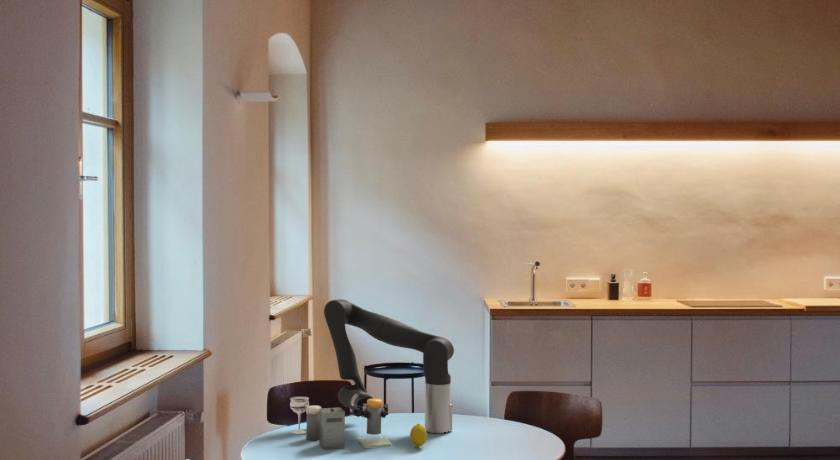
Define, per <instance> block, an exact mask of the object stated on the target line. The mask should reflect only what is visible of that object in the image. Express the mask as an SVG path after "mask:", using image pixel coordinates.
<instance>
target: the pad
mask: <svg viewBox="0 0 840 460" xmlns="http://www.w3.org/2000/svg"><path fill="white" fill-rule="evenodd" d="M358 443H359V444H360V445H361V446H362V447H363V448H364V449H372V448H373V449H374V448H375V449H376V448H385V447H387V448H388V447H392V443H391V442H390V441H389V440H388V439H387V438H385V437H384V436H383V437H382V436H381V437H371V438H359V439H358Z"/></svg>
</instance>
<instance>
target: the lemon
mask: <svg viewBox="0 0 840 460" xmlns="http://www.w3.org/2000/svg"><path fill="white" fill-rule="evenodd" d="M427 433H428V432H427V431H426V429H425V426H424V425H422V424H421V423H417V424H415V425H414V426H412V427H411V430H410V433H409V434H410V435H409V438H410V439H409V440H410V442H411V444H412V445H413V446H415V447H416V448H417V449H420V448H421V447H422V446H424V445H425V444H426V442H427V439H428V435H427Z"/></svg>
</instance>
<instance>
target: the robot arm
mask: <svg viewBox="0 0 840 460" xmlns="http://www.w3.org/2000/svg"><path fill="white" fill-rule="evenodd" d="M323 314H324V315H323V316H324V319H325V323H326V325H327V327H328V331H329V334H330V337H331V339H332V343H333V347H334V351H335V354H336V355H335V356H336V362H337V367H338V372H339V378H340V379H341V380H344V381H348V380H349V381H352V382H353V383H354V384H353V385H346V386H343V387H341V388H340V389H339V390H338V393H337V394H338V395H337V398H338V401H339V402H340V404H341V405H342V406H343V407H345V408H349V414H350V415H353V416H355V417H357V418H360V417H362V418H366V420H367V419H370V412H369V411H367V400H368V399H375V398H373V396H372V395H370V394H369V393H368V392H367V389H366V387H365V385H364V382H363V380H362V378H361V376H360V373H359V369H358V363H357V358H356V354H355V351H354V348H353V346H352V344H351V342H350V339H349V337H348V333H347V330H346V325H349V326H352V327H356V328H358V329H360V330H363V331H364V332H365V333H366V334H368V335H369V336H371V337H372V338H374V339H375V340H377V341H380V342H383V343H385V344H388V345H390V346H393V347H396V348H404V349H409V350H413V351H418V352H420V353H422V364H423V365H422V366H423V368H422V371H423V376H424V381H425V382H424V428H425V429H426V433H430V434H431V433H432V434H445V433H444V432H446V433H449V432H452V431H453V404H452V403H451V395H452V394H451V393H452V391H451V387H452V385H451V383H452V382H451V379H452V377H451V374H450V373H449V366H448V365H449V364H448V363H449V361H450V360H451V359H452V357H453V356H454V354H455V348H454V345H453V343H452V342H451V341H450V339H447V338H445V337H442V336H439V335H435V334H431V333H428V332H424V331H422V330H419V329H417V328H414V327H413V326H412V325H411V326H410V325H408V324H405V323H404V322H400V321H399V320H397V319H394V318H391V317H388V316H385V315H383V314H379V313H376V312H373V311H369V310H366V309H365V308H362V307H360V306H358V305H356V304H355V303H352V302H351V301H348V300H347V299H331V300H330V301H328V302H327V303H326V304H325V305H324V308H323ZM387 416H389V404H387V403H385V404H382V412H381V419H385V418H386V417H387ZM451 430H452V431H451ZM448 431H449V432H448Z"/></svg>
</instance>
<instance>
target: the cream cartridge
mask: <svg viewBox="0 0 840 460" xmlns="http://www.w3.org/2000/svg"><path fill="white" fill-rule="evenodd" d="M321 408H322V406H320V405H309V406H307V407H306V411H305V412H306V434H305V435H306V436H305V437H306V439H305V440H306V441H308V442H316V441H318V442H319V420H320V409H321Z"/></svg>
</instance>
